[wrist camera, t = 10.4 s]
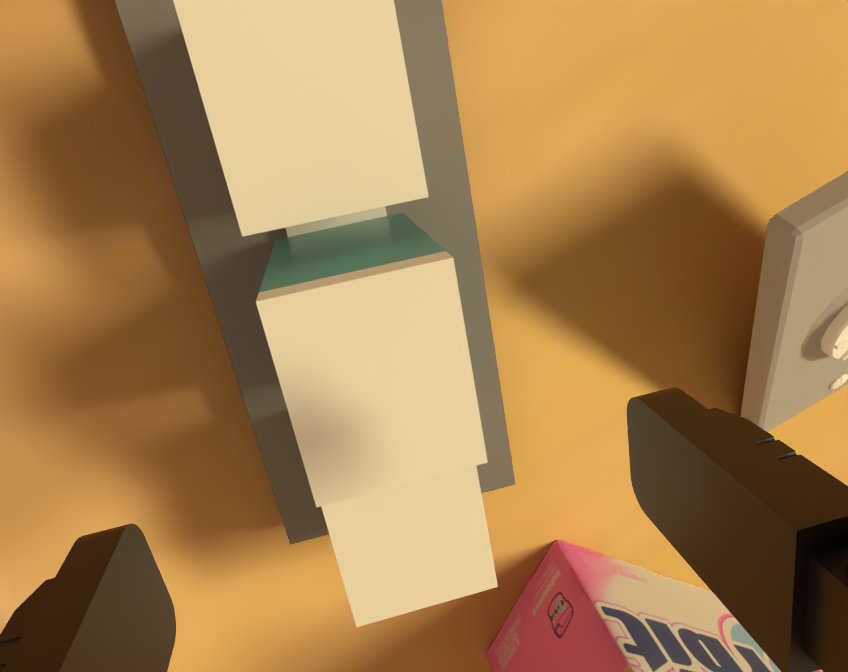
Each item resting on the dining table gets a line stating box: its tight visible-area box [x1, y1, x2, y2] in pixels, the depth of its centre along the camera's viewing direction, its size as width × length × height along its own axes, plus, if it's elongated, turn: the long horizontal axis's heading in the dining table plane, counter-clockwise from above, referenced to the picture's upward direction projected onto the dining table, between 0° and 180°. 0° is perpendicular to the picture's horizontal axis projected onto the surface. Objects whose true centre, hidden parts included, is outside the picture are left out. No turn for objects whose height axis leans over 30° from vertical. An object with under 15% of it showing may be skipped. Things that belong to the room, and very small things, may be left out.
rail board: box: [115, 0, 515, 627], centre depth 20 cm, size 22×10×7 cm, turn 11°
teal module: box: [256, 213, 488, 507], centre depth 18 cm, size 6×4×8 cm
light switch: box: [740, 171, 848, 432], centre depth 25 cm, size 8×6×14 cm
